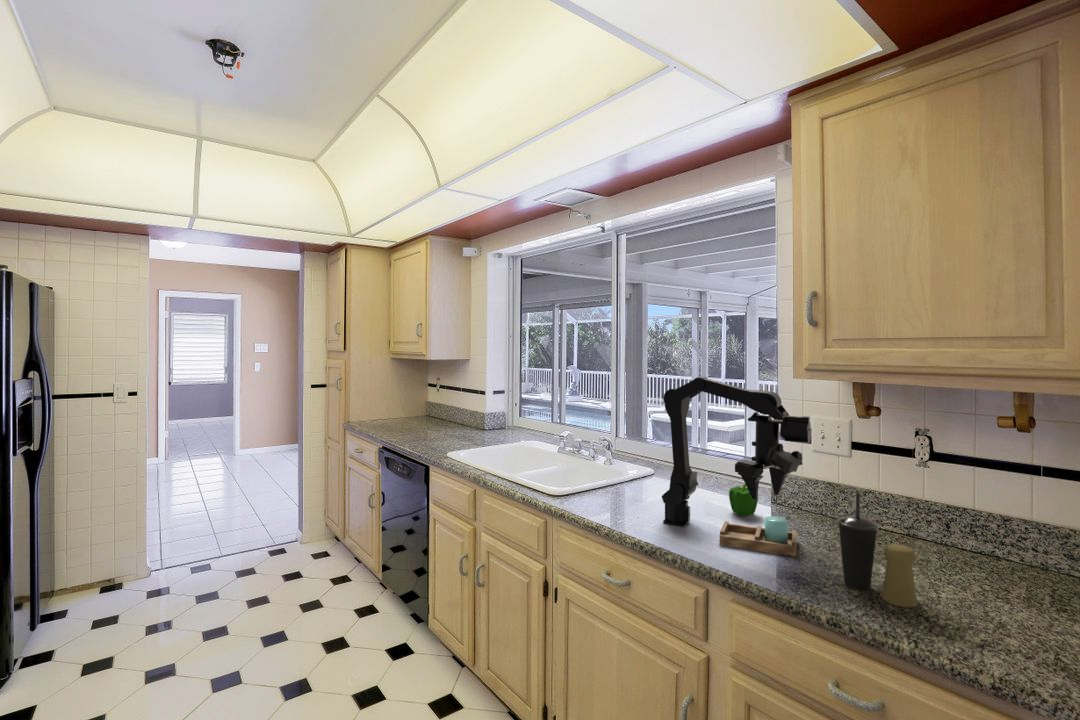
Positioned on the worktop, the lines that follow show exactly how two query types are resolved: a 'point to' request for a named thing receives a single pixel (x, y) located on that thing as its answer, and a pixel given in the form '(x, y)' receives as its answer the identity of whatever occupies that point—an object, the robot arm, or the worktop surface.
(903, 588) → the cork
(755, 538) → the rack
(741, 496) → the bell pepper
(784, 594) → the worktop surface
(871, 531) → the drinking cup
